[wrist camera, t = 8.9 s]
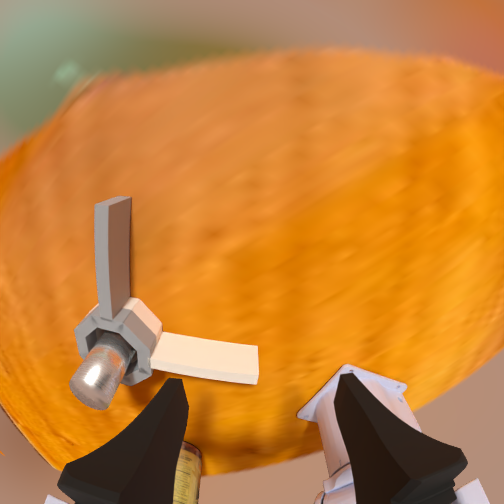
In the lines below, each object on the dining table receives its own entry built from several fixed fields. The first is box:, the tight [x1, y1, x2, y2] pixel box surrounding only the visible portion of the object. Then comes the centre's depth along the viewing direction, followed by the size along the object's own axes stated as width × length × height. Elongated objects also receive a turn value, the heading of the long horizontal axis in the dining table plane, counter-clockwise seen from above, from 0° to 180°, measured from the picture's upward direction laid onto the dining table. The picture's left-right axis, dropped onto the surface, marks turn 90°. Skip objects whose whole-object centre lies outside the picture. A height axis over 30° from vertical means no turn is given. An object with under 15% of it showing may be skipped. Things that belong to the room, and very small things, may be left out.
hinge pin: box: [69, 330, 136, 410], centre depth 18 cm, size 3×3×8 cm
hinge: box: [74, 196, 259, 386], centre depth 19 cm, size 14×14×4 cm
